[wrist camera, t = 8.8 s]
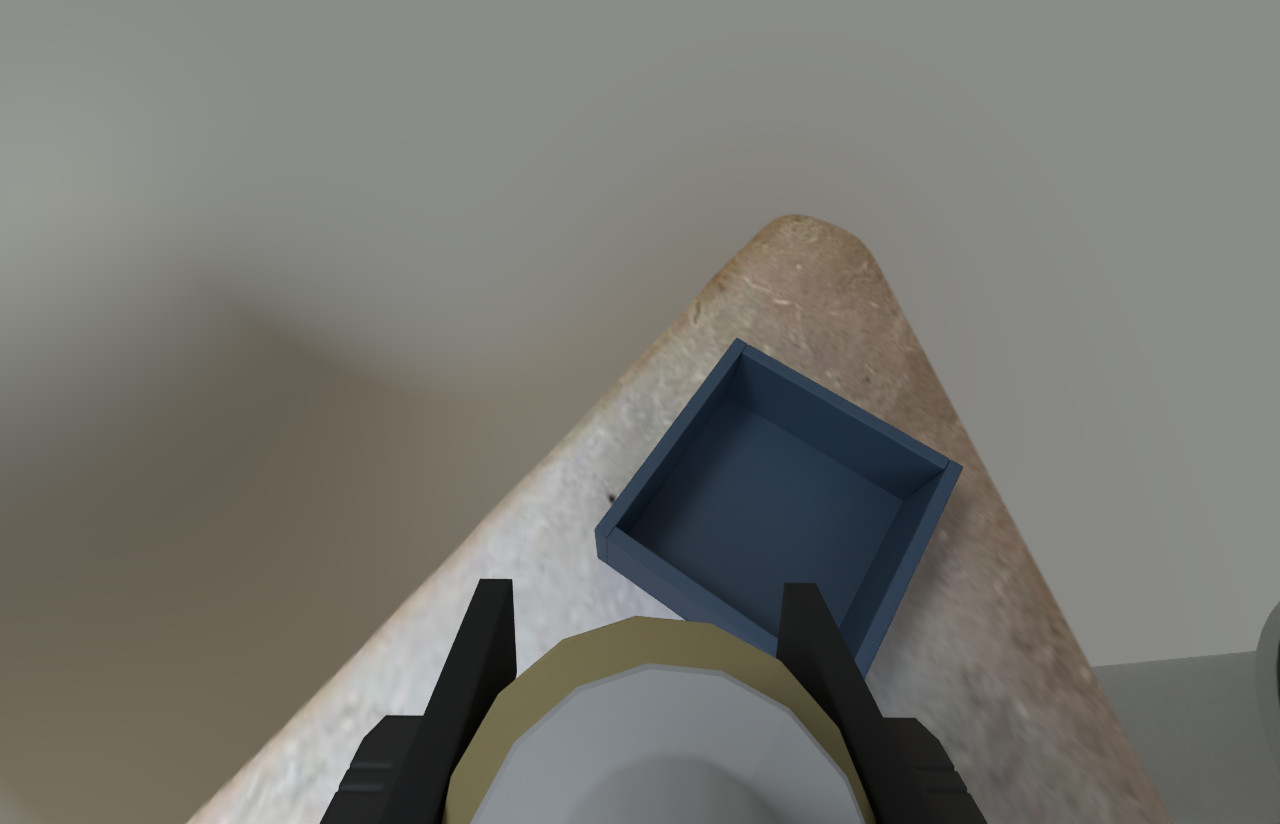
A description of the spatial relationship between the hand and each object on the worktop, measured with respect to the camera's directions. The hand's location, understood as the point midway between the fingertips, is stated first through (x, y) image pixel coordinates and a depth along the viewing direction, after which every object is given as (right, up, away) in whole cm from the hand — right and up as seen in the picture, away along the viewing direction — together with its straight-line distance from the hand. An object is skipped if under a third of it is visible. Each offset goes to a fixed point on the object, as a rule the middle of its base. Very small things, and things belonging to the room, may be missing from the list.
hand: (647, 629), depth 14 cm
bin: (+7, -2, +23) cm, 24 cm away
